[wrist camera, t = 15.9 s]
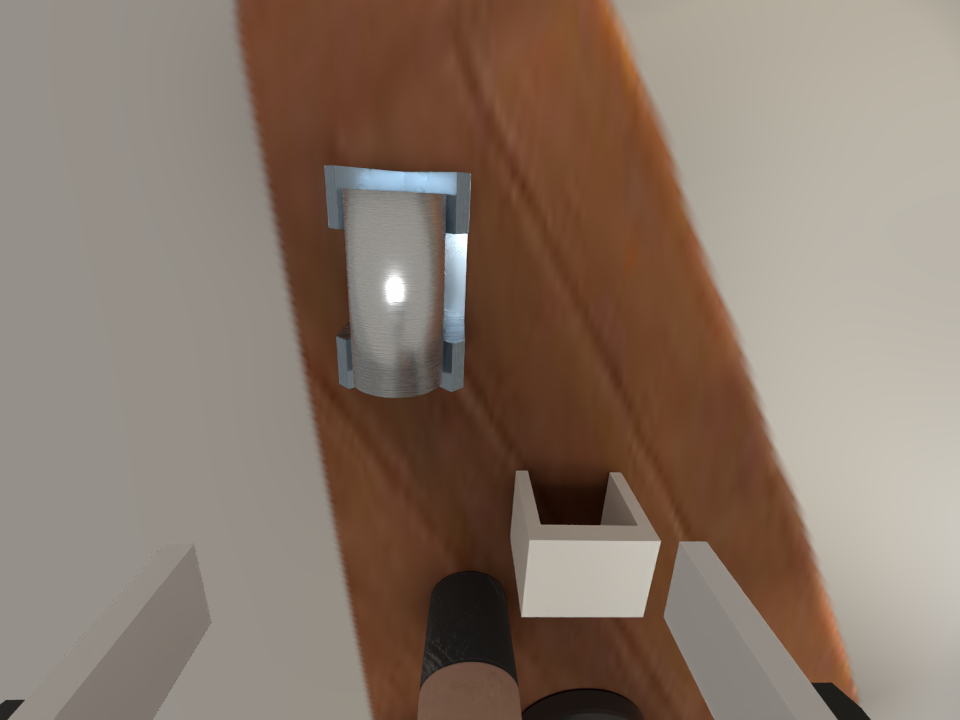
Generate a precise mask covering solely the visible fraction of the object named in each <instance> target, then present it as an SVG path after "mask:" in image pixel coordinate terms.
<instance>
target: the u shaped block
mask: <svg viewBox="0 0 960 720" xmlns="http://www.w3.org/2000/svg"><path fill="white" fill-rule="evenodd" d="M510 540H511V547H512V554H513V561H514V568H515V575H516V582H517V589H518V596H519V604H520V611H521V617H643V615H644V611H645V606H646V602H647V598H648V594H649V590H650V585H651V581H652V577H653V573H654V568H655V564H656V560H657V556H658V551H659V547H660V543H661V541H660V539H659V537H658V535H657V534H656V532H655V530H654V529H653V527H652V525H651V523H650V522H649V520H648V518H647V516H646V515H645V513H644V511H643V509H642V508H641V506H640V504H639V502H638V501H637V499H636V497H635V496H634V494H633V492H632V490H631V489H630V487H629V485H628V483H627V482H626V480H625V478H624V476H623V475H622V473H621V472H610V473H609V479H608V484H607V490H606V496H605V502H604V507H603V513H602V519H601V525H541V524H540V520H539V516H538V511H537V507H536V503H535V499H534V495H533V490H532V486H531V482H530V478H529V474H528V471H516V476H515V487H514V499H513V510H512V522H511V533H510Z"/></svg>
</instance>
